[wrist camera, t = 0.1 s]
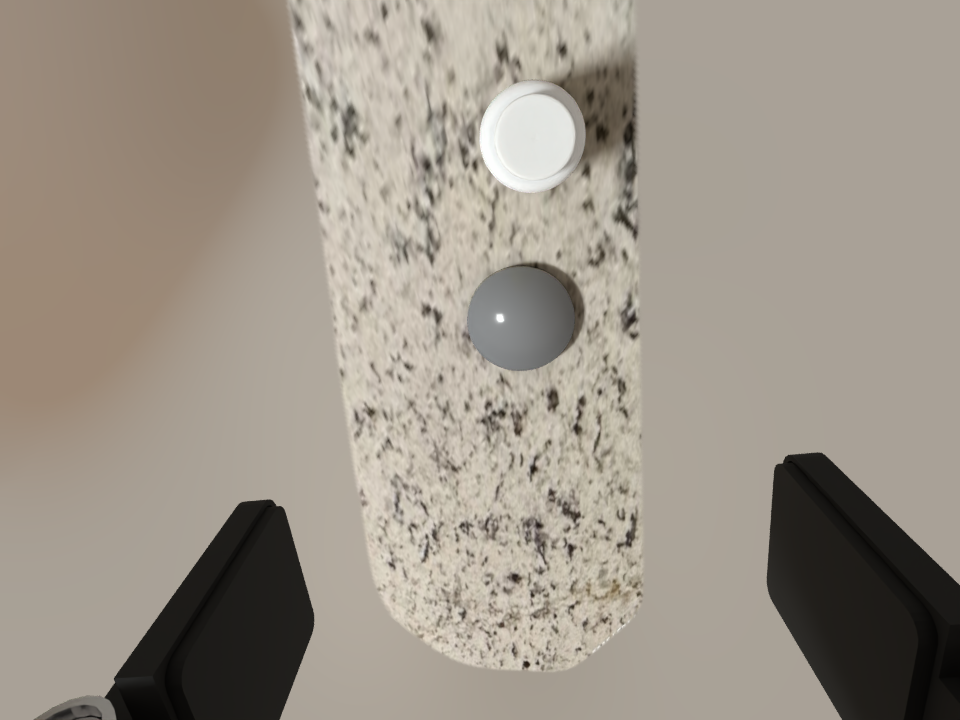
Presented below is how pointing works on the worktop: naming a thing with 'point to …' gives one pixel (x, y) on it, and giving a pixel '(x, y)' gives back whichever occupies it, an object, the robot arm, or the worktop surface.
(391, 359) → the worktop surface
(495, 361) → the slate coaster
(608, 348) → the worktop surface
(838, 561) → the robot arm
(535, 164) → the supplement bottle
